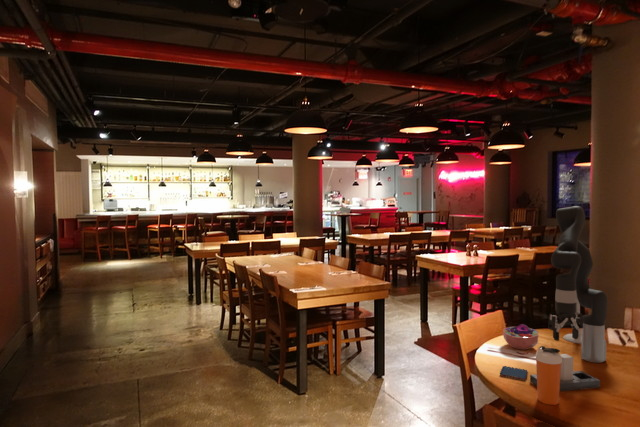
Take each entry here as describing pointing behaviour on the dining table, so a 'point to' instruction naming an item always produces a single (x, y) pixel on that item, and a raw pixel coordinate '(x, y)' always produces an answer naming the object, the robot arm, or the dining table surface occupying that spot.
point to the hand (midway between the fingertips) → (565, 339)
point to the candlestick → (569, 336)
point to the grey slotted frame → (574, 381)
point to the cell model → (521, 336)
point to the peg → (566, 367)
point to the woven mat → (514, 373)
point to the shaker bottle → (548, 375)
